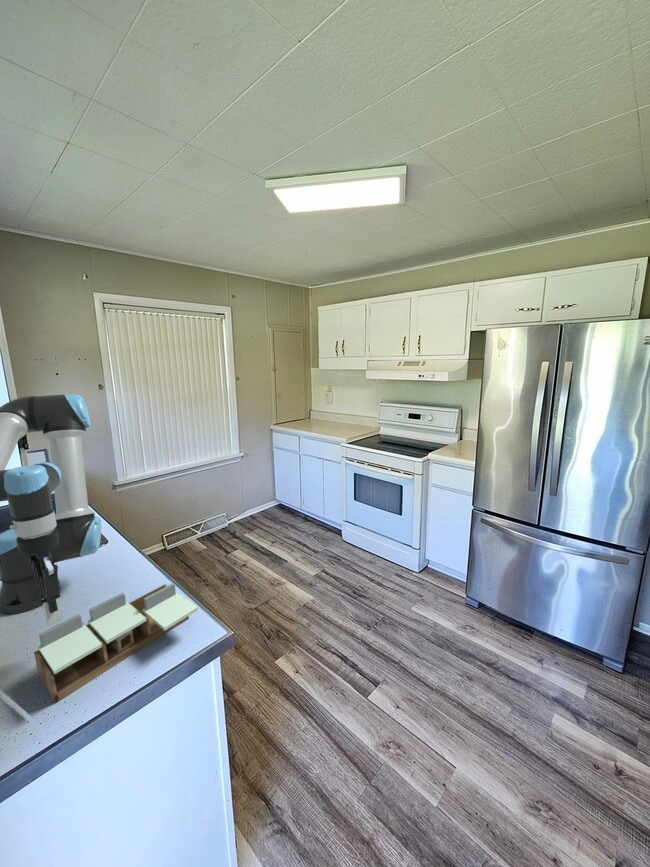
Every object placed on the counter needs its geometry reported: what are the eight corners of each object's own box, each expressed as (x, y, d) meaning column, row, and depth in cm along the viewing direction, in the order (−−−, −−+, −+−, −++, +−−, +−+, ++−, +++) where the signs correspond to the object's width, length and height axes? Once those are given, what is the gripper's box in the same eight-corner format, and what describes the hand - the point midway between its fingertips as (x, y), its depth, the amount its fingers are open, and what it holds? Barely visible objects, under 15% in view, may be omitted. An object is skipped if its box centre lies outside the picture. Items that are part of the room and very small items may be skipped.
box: (39, 678, 82) (34, 652, 81) (167, 604, 106) (164, 584, 105) (56, 706, 75) (50, 678, 74) (189, 621, 99) (186, 599, 98)
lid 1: (38, 649, 81) (35, 635, 80) (83, 625, 88) (81, 612, 88) (54, 674, 74) (51, 658, 74) (102, 646, 82) (99, 632, 81)
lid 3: (142, 612, 93) (140, 599, 92) (175, 593, 100) (174, 581, 99) (164, 630, 86) (162, 617, 85) (198, 609, 93) (196, 596, 92)
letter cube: (109, 648, 89) (107, 634, 89) (124, 637, 93) (122, 623, 92) (119, 653, 88) (117, 639, 87) (134, 642, 91) (132, 628, 90)
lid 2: (88, 623, 89) (86, 610, 88) (126, 603, 96) (124, 591, 95) (107, 643, 82) (104, 629, 82) (146, 620, 89) (144, 607, 89)
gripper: (8, 530, 83) (27, 619, 87) (23, 546, 75) (43, 643, 80) (47, 519, 89) (63, 602, 93) (65, 533, 81) (81, 623, 85)
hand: (54, 621), depth 86 cm, fingers closed
